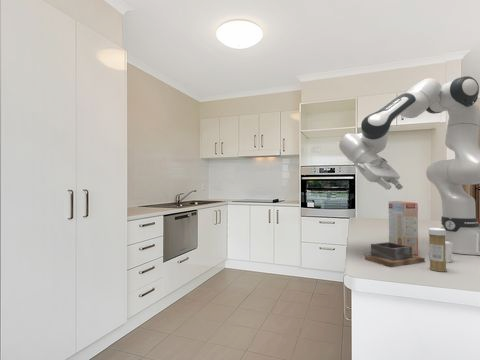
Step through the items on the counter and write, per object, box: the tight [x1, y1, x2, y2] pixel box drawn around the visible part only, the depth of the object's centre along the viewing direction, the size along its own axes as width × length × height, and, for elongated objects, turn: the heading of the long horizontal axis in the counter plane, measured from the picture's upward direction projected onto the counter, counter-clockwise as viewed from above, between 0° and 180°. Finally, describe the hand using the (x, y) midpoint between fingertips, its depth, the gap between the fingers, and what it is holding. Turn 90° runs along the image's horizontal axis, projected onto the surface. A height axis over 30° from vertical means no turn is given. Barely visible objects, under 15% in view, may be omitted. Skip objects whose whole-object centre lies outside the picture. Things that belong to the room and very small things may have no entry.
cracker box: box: [388, 200, 419, 256], centre depth 116 cm, size 14×6×21 cm, turn 173°
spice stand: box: [364, 241, 426, 268], centre depth 101 cm, size 17×11×6 cm, turn 112°
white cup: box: [445, 241, 453, 264], centre depth 101 cm, size 7×7×7 cm
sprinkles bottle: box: [428, 227, 448, 273], centre depth 90 cm, size 5×5×14 cm
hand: (395, 188), depth 102 cm, fingers open, 8 cm apart
